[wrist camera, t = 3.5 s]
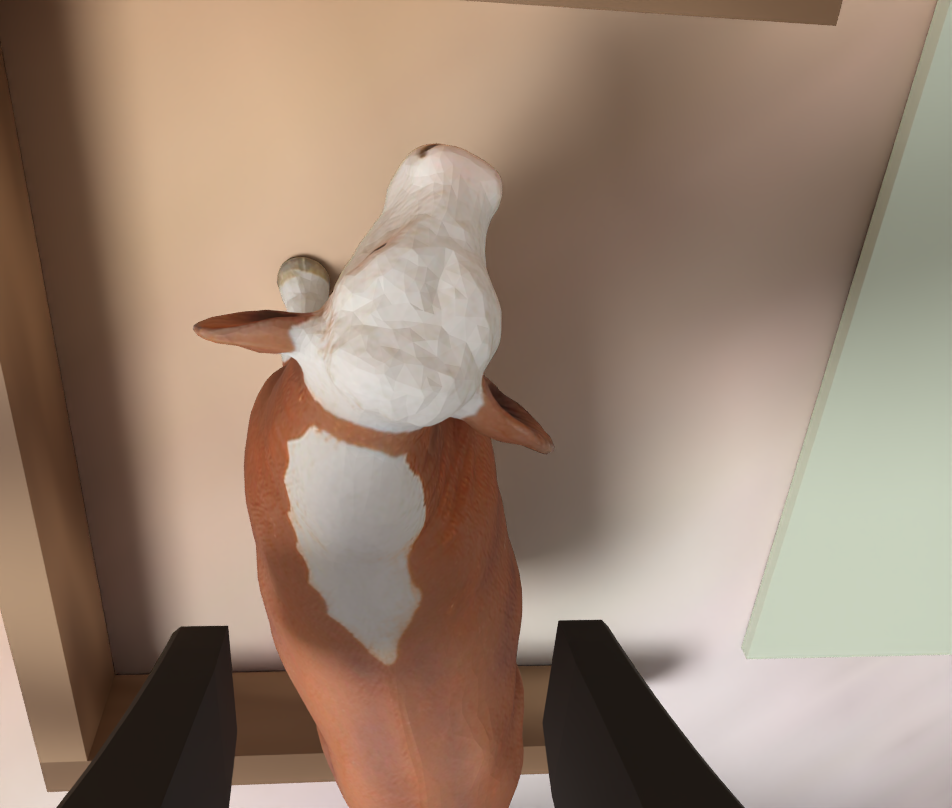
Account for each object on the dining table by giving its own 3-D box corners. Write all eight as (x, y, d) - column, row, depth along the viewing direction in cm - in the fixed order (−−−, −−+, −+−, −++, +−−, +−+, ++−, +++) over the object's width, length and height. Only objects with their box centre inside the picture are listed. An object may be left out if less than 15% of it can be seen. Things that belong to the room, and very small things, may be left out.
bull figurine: (492, 57, 16) (587, 203, 9) (494, 623, 22) (547, 961, 16) (238, 64, 15) (123, 223, 8) (317, 637, 22) (292, 988, 15)
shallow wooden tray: (622, 690, 24) (646, 769, 22) (78, 704, 22) (47, 792, 20) (786, -59, 15) (854, -49, 13) (-100, -130, 13) (-191, -132, 11)
